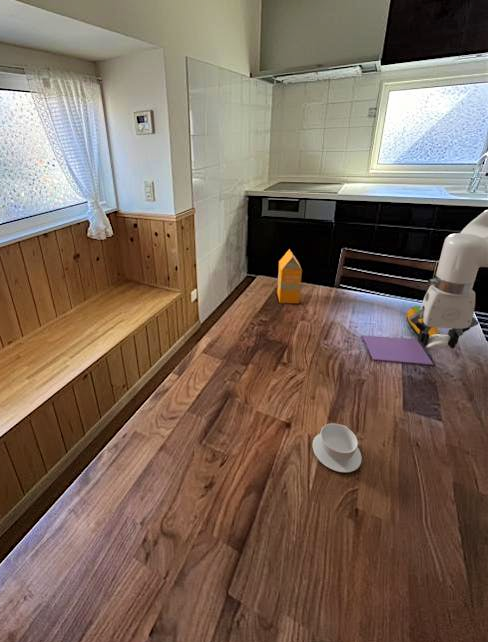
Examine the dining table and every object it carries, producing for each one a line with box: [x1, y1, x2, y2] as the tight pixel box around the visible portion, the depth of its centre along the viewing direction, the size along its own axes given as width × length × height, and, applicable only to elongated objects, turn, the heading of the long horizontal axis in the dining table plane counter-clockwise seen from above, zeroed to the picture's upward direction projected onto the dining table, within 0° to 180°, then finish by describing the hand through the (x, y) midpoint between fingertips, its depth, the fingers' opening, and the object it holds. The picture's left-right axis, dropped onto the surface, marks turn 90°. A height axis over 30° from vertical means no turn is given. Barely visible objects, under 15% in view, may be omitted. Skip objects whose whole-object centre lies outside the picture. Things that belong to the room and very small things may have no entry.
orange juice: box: [276, 248, 303, 304], centre depth 134 cm, size 8×9×20 cm
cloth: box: [362, 335, 434, 366], centre depth 104 cm, size 16×12×1 cm
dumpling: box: [425, 333, 451, 350], centre depth 89 cm, size 7×5×4 cm
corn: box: [406, 305, 440, 337], centre depth 109 cm, size 7×8×20 cm
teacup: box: [312, 423, 363, 473], centre depth 73 cm, size 10×10×5 cm
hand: (436, 343), depth 89 cm, fingers closed on dumpling, 5 cm apart
